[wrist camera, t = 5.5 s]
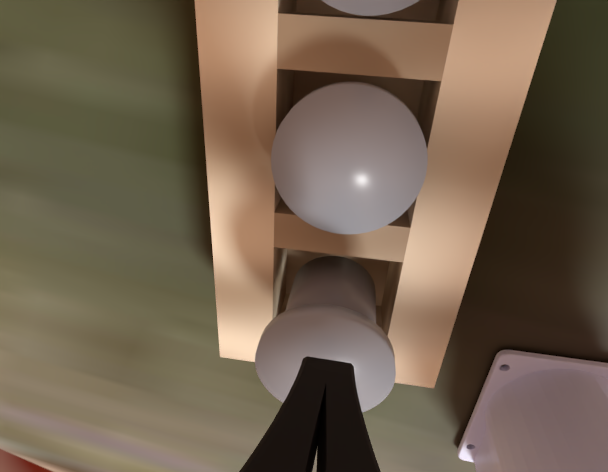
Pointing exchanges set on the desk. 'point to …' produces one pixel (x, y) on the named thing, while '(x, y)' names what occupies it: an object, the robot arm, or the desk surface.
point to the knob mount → (431, 118)
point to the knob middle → (349, 158)
